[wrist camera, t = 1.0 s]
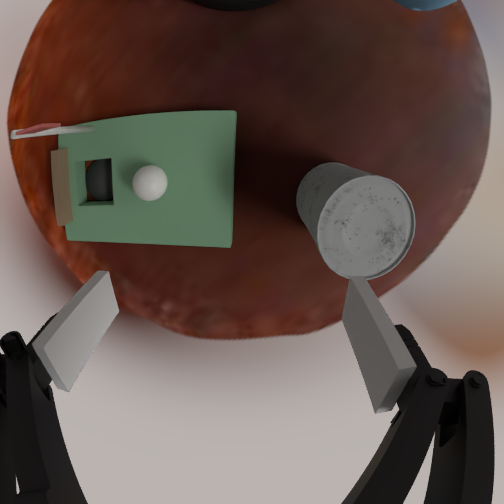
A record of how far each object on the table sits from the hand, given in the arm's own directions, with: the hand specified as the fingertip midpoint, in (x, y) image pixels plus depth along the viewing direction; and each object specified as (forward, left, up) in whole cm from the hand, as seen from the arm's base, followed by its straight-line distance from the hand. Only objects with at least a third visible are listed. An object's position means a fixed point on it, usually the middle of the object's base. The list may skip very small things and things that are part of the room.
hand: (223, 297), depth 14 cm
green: (-3, -13, -21) cm, 25 cm away
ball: (-3, -10, -17) cm, 20 cm away
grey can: (-1, +11, -22) cm, 24 cm away
